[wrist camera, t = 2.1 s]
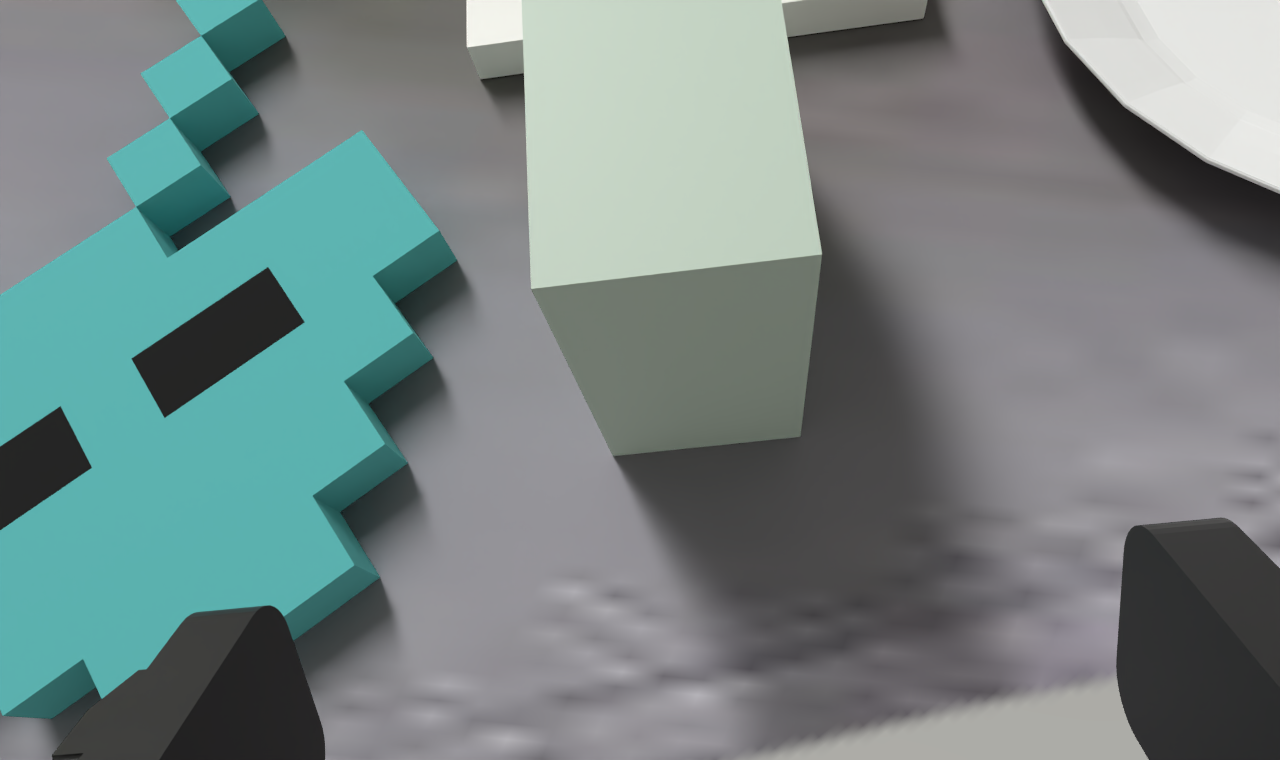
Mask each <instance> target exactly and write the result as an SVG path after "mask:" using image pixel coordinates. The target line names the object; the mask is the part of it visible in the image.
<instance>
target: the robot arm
mask: <svg viewBox="0 0 1280 760" xmlns="http://www.w3.org/2000/svg"><path fill="white" fill-rule="evenodd" d="M1116 668H1117V680H1118V687H1119V692H1120V696H1121V701H1122V704H1123V708H1124V711H1125V714H1126V717H1127V720H1128V722H1129V724H1130V727H1131V729H1132V731H1133V733H1134V735H1135V737H1136V738H1137V740H1138V742H1139V744H1140V745H1141V747H1142V749H1143V750H1144V752H1145V754H1146V755H1147V757H1148V759H1149V760H1280V568H1279V567H1278V566H1277V565H1276V564H1275V563H1274V562H1273V561H1272V560H1271V559H1270V558H1269V557H1268V556H1267V555H1266V554H1265V553H1264V552H1263V551H1262V550H1261V549H1260V548H1259V547H1258V546H1257V545H1256V544H1255V543H1254V542H1253V541H1252V540H1251V539H1250V538H1249V537H1248V536H1247V535H1246V534H1245V533H1244V532H1243V531H1242V530H1241V529H1240V528H1239V527H1238V526H1237V525H1236V524H1234V523H1233V522H1232V521H1230V520H1228V519H1226V518H1212V519H1202V520H1191V521H1181V522H1170V523H1159V524H1149V525H1138V526H1134V527H1133V528H1131V530H1130V531H1129V532H1128V535H1127V537H1126V541H1125V546H1124V557H1123V572H1122V586H1121V601H1120V616H1119V631H1118V645H1117V664H1116ZM52 758H53V760H325V741H324V734H323V728H322V725H321V721H320V719H319V716H318V713H317V710H316V707H315V704H314V701H313V698H312V695H311V692H310V689H309V686H308V683H307V680H306V677H305V674H304V671H303V668H302V665H301V663H300V660H299V657H298V654H297V651H296V648H295V645H294V642H293V639H292V636H291V633H290V630H289V627H288V625H287V622H286V620H285V618H284V616H283V615H282V613H281V612H280V611H279V610H278V609H277V608H275V607H274V606H271V605H267V606H256V607H245V608H235V609H224V610H214V611H203V612H195V613H193V614H191V615H189V616H188V617H186V618H185V619H184V621H183V622H182V623H181V624H180V625H179V627H178V628H177V629H176V631H175V632H174V633H173V635H172V636H171V637H170V639H169V640H168V641H167V643H166V644H165V645H164V647H163V648H162V649H161V651H160V652H159V653H158V655H157V656H156V657H155V659H154V660H153V661H152V663H151V664H150V665H149V667H148V668H147V669H143V670H138V671H137V672H135V673H134V674H133V675H132V676H130V677H129V678H128V679H127V680H125V681H124V682H123V683H121V684H120V685H119V686H118V687H116V688H115V689H114V690H113V691H111V692H110V693H109V694H108V695H106V696H105V697H104V698H102V699H101V700H100V701H99V702H97V703H96V704H95V705H94V706H92V707H91V708H90V709H89V710H88V711H87V712H86V713H85V714H84V716H83V717H82V718H81V719H80V721H79V722H78V723H77V724H76V726H75V727H74V728H73V730H72V731H71V732H70V733H69V735H68V736H67V737H66V738H65V740H64V741H63V742H62V743H61V745H60V746H59V747H58V748H57V750H56V751H55V752H54V754H53V755H52Z"/></svg>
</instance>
